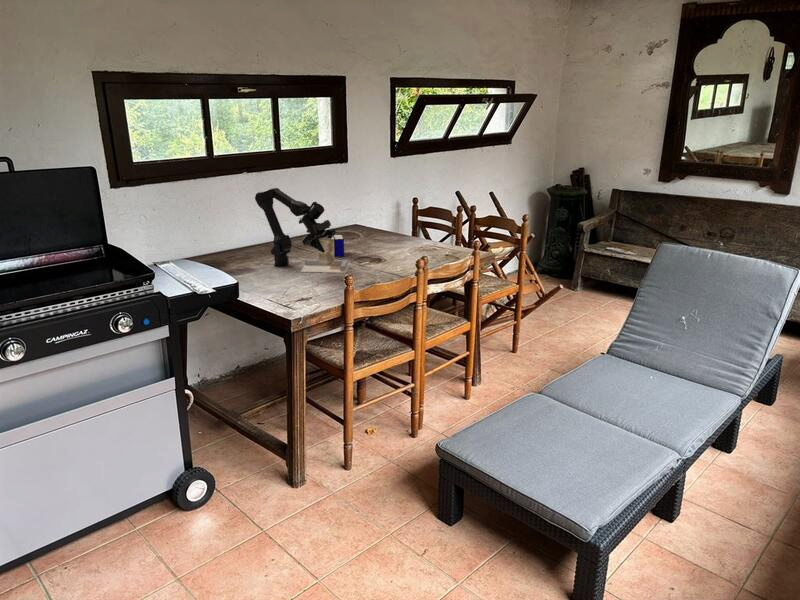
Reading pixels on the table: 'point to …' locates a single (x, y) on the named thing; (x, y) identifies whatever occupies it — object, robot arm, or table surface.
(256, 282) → the table surface
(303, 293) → the table surface
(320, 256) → the birch block
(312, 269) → the tray
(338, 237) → the puzzle cube
